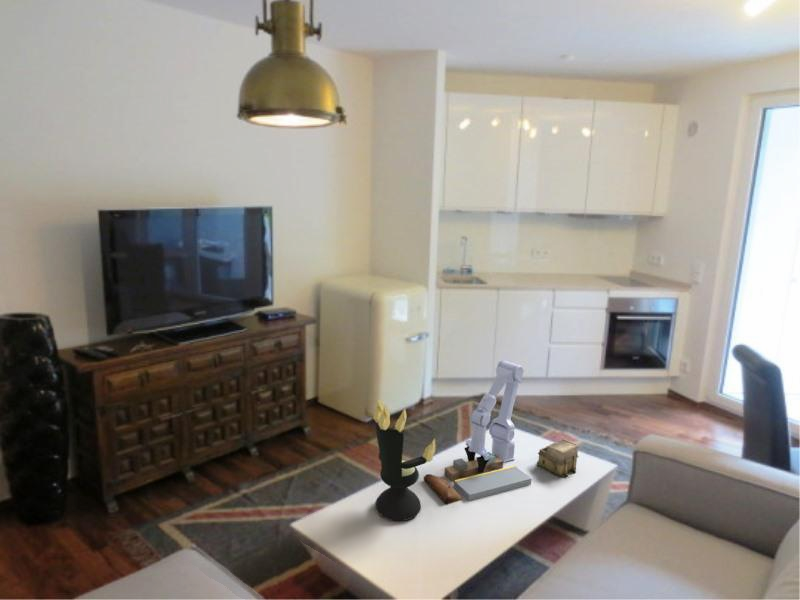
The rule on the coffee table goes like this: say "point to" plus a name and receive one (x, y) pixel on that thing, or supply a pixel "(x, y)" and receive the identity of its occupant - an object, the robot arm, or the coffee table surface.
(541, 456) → the ornate brown chest
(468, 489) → the dock
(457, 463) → the crate
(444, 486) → the sunglasses case
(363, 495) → the coffee table surface
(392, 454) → the candelabra
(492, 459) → the teal square block
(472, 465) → the wooden plank
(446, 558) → the coffee table surface
